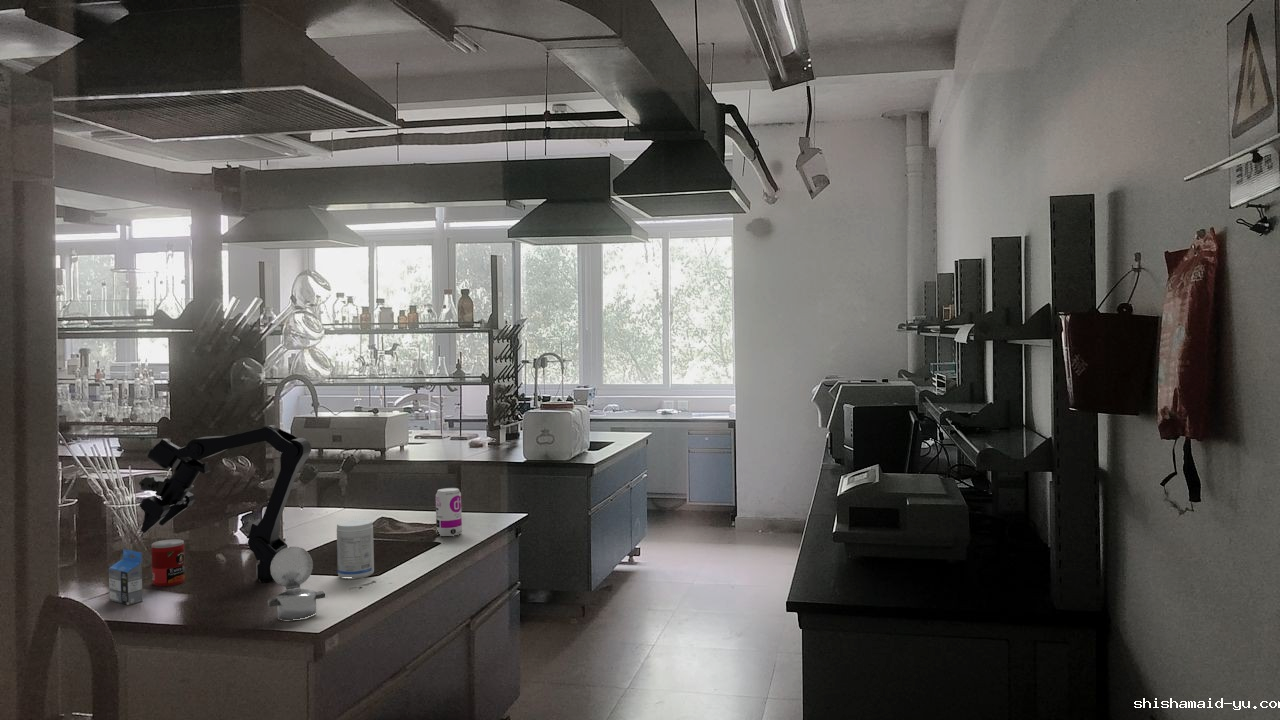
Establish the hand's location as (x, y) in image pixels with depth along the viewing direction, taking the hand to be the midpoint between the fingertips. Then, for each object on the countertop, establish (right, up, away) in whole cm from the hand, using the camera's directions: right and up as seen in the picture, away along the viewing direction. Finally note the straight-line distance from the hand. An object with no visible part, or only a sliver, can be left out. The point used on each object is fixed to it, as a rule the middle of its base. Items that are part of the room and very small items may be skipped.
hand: (152, 528), depth 229 cm
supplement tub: (+54, -14, +4) cm, 56 cm away
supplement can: (+68, -13, +53) cm, 87 cm away
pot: (+52, -14, -31) cm, 62 cm away
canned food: (+4, -15, 0) cm, 16 cm away
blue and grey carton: (+3, -15, -16) cm, 22 cm away
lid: (+49, -4, -27) cm, 56 cm away
